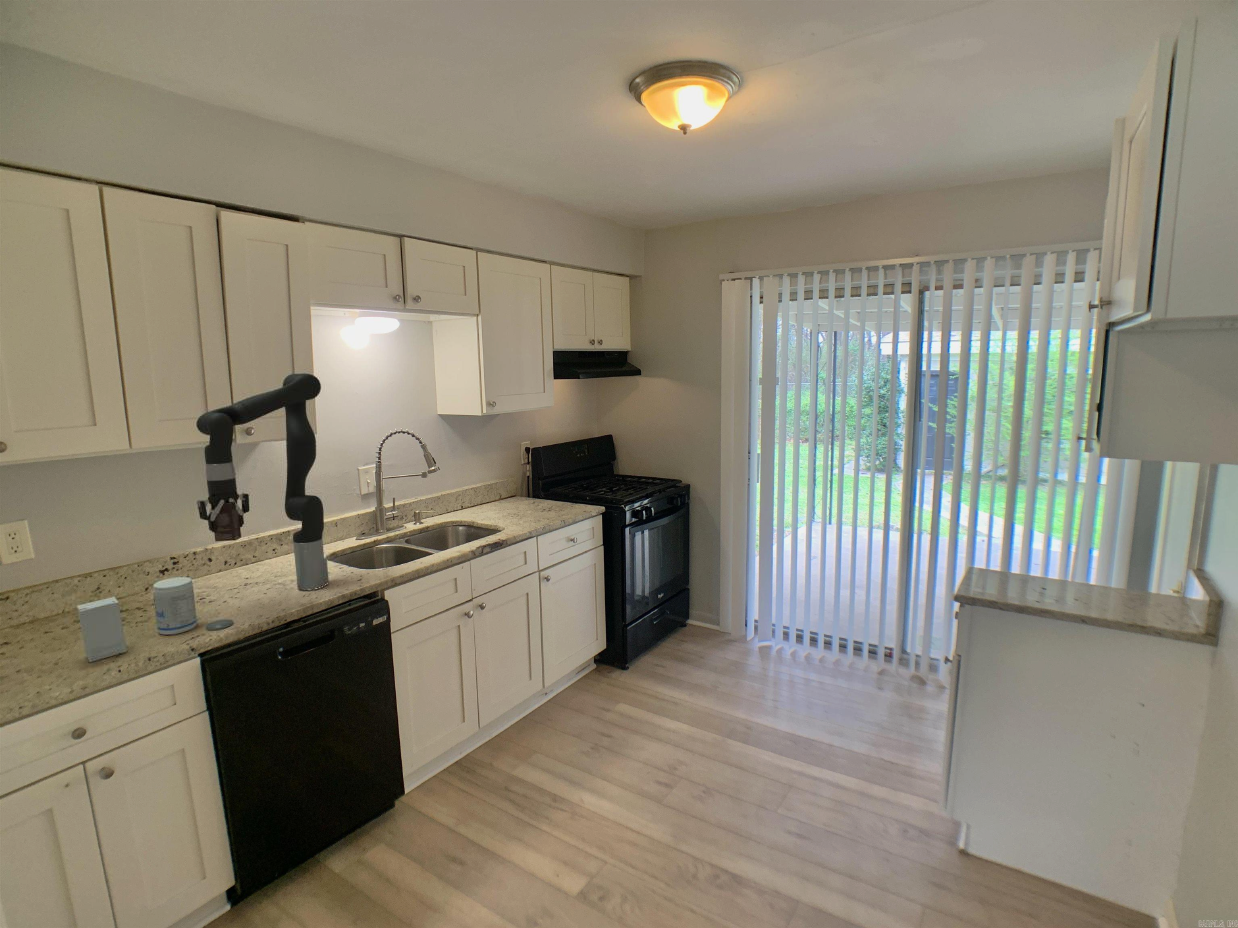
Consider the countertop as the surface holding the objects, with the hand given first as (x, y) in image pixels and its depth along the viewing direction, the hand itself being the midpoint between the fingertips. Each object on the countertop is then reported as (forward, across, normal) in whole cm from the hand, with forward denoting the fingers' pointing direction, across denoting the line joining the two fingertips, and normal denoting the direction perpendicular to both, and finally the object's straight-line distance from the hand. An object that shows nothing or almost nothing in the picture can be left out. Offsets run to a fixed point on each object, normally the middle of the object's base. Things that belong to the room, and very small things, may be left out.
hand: (227, 529), depth 190 cm
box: (+4, 0, 0) cm, 4 cm away
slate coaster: (+27, +8, +8) cm, 29 cm away
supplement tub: (+27, +16, 0) cm, 32 cm away
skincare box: (+27, +34, +3) cm, 44 cm away
